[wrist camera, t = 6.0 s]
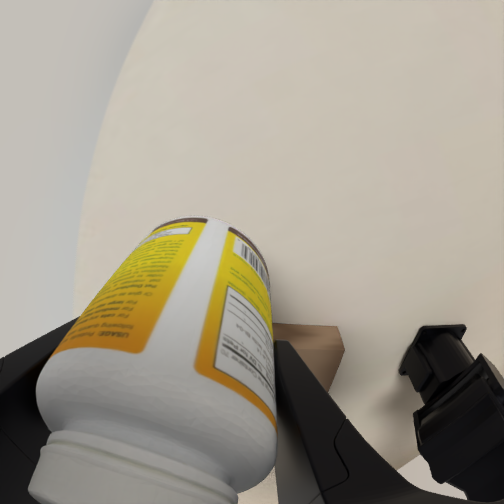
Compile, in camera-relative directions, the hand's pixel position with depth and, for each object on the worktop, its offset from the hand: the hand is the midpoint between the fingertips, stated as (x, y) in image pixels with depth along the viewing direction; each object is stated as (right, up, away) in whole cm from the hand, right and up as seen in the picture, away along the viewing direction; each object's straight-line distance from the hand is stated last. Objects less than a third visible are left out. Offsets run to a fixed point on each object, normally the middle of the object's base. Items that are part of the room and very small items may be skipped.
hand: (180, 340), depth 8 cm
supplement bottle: (0, +2, +4) cm, 4 cm away
